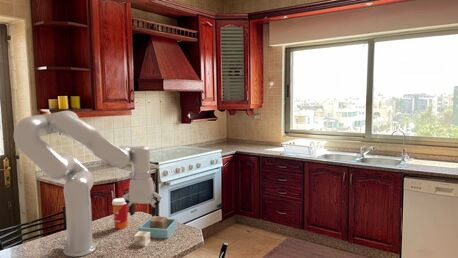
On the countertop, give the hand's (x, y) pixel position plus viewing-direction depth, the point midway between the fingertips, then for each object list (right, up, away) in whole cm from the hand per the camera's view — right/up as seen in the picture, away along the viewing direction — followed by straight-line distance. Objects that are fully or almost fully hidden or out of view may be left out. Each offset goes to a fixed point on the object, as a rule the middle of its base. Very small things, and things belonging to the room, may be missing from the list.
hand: (143, 214), depth 145 cm
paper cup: (-16, -11, +20) cm, 27 cm away
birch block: (-1, -13, +1) cm, 13 cm away
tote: (+4, -12, +14) cm, 19 cm away
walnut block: (+4, -11, +14) cm, 18 cm away
